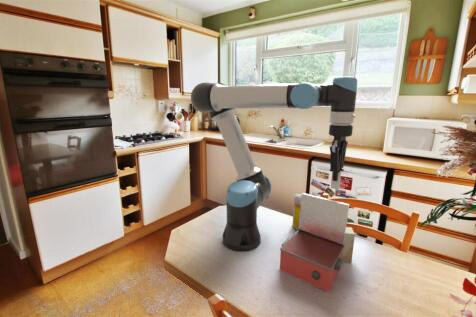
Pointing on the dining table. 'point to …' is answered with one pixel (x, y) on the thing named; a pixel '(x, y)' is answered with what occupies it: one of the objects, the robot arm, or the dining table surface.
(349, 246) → the box
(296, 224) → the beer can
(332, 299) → the dining table surface
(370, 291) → the dining table surface
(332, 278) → the red hinged chest
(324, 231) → the lid
